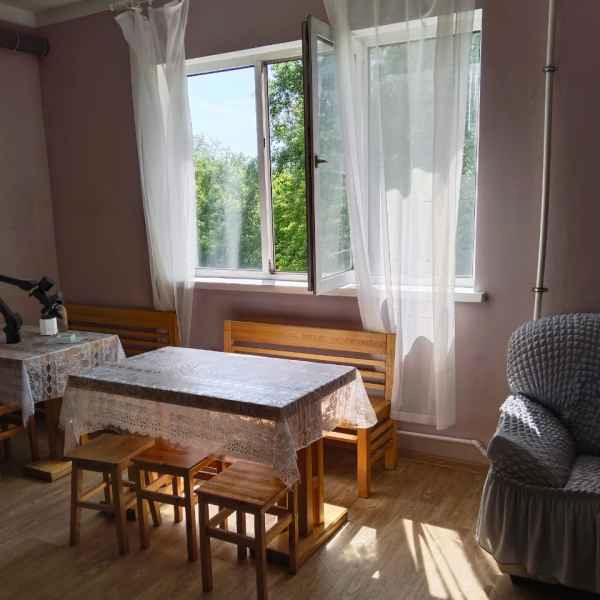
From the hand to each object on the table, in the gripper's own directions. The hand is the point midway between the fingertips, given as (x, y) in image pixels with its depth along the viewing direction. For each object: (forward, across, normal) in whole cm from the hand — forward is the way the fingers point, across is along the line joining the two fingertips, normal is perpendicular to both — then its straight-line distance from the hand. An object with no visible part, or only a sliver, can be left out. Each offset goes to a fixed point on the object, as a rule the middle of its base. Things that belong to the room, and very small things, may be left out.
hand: (64, 317), depth 334 cm
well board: (+8, +2, +11) cm, 14 cm away
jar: (-3, +18, +22) cm, 29 cm away
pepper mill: (+4, 0, +6) cm, 8 cm away
